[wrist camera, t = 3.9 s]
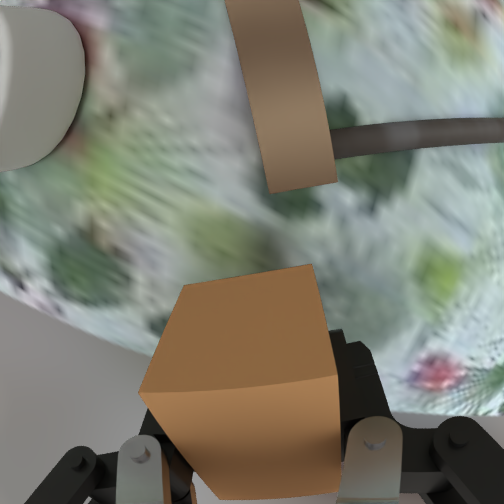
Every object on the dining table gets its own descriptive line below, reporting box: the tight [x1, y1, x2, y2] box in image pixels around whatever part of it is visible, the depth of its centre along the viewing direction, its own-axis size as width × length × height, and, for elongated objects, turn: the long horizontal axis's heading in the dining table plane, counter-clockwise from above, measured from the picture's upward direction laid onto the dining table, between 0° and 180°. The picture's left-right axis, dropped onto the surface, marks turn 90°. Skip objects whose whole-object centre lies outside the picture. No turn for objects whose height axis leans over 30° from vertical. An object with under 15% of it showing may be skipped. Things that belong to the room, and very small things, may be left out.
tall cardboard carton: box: [138, 264, 341, 500], centre depth 9 cm, size 6×4×4 cm, turn 12°
